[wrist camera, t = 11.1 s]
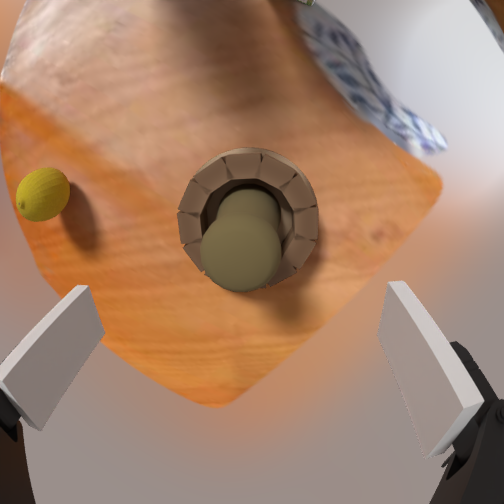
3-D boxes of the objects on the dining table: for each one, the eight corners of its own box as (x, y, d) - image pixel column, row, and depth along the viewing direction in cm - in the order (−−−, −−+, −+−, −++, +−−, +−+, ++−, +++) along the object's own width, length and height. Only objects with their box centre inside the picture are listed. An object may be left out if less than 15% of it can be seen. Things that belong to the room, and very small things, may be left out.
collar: (316, 145, 25) (323, 146, 22) (315, 274, 30) (320, 290, 26) (177, 153, 26) (165, 155, 22) (192, 277, 30) (184, 293, 27)
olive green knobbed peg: (294, 215, 27) (311, 265, 17) (249, 256, 29) (239, 323, 19) (249, 169, 25) (237, 191, 15) (204, 214, 27) (168, 261, 17)
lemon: (64, 218, 29) (21, 241, 21) (43, 182, 27) (-3, 198, 20) (90, 191, 27) (44, 210, 20) (67, 153, 26) (19, 162, 18)
